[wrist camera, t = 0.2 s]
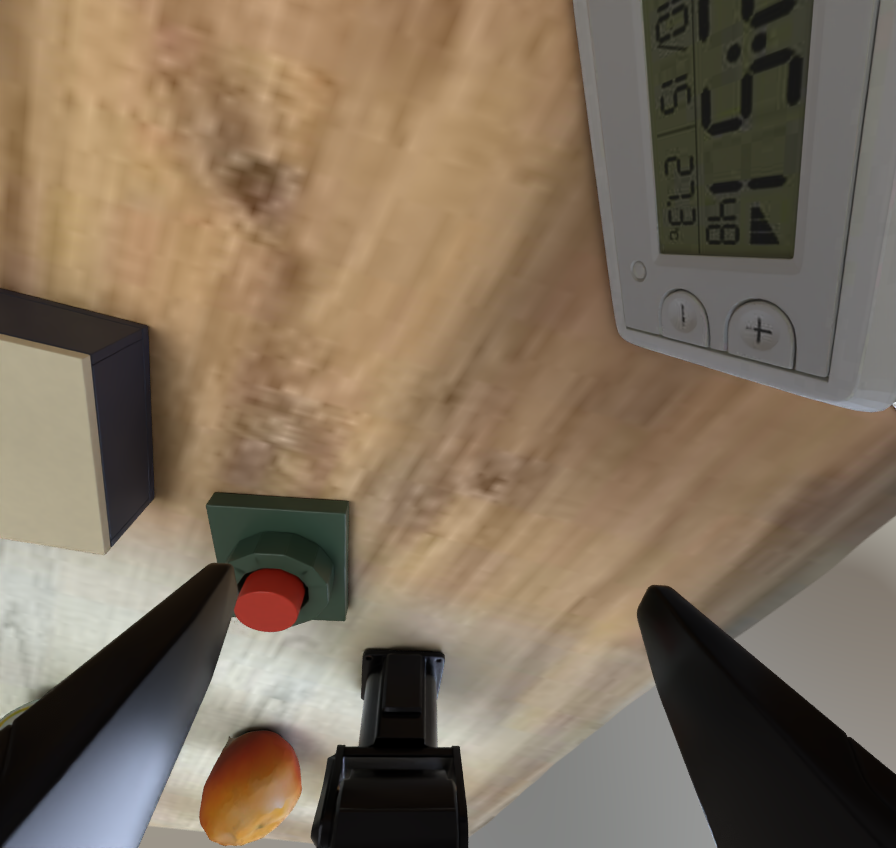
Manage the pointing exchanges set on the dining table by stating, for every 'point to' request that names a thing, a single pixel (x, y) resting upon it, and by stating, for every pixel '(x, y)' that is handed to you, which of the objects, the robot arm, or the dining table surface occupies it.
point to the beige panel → (50, 449)
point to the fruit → (250, 788)
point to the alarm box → (287, 545)
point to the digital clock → (750, 185)
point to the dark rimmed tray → (102, 392)
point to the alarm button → (270, 600)
